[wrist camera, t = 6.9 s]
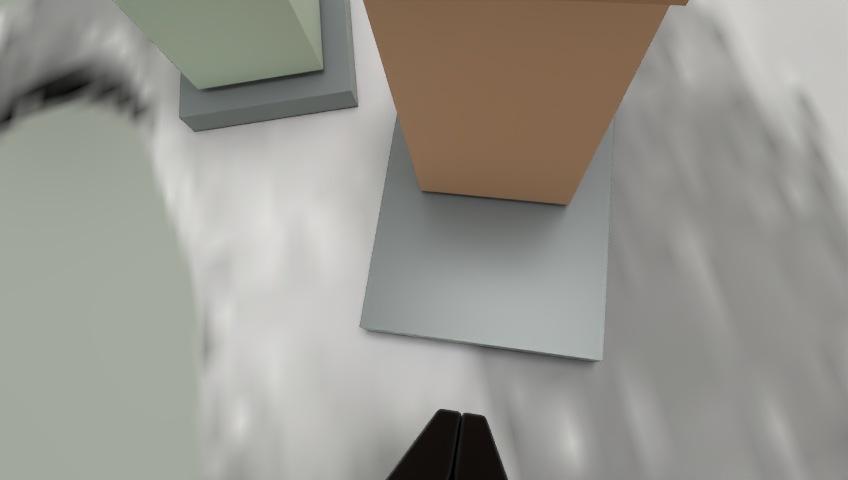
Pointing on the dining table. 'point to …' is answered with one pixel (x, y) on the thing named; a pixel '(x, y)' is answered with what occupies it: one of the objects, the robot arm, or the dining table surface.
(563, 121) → the orange rectangular block
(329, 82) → the sage key base
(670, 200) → the dining table surface
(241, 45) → the sage key
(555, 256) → the terracotta key base
